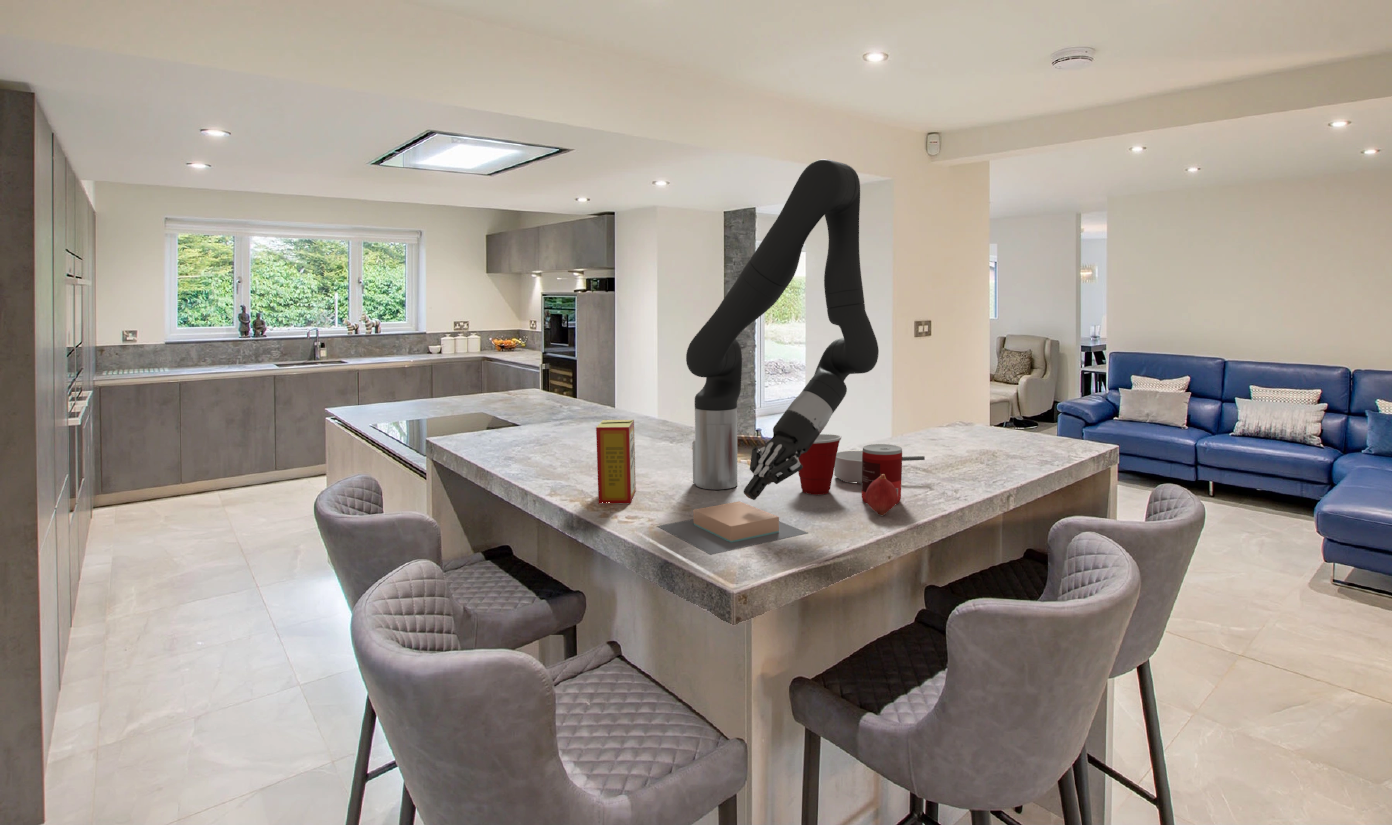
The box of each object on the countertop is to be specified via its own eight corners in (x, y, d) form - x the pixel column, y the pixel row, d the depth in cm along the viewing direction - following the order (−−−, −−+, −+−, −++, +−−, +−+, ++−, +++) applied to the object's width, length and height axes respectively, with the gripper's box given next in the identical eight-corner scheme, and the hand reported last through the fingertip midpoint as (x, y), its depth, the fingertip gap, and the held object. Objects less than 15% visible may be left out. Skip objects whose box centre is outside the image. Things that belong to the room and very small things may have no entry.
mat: (656, 528, 134) (656, 525, 134) (748, 511, 144) (748, 508, 144) (710, 557, 119) (710, 554, 119) (808, 535, 129) (808, 532, 129)
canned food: (903, 498, 152) (905, 445, 151) (896, 508, 145) (898, 452, 144) (866, 494, 156) (867, 442, 154) (857, 504, 148) (858, 449, 147)
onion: (858, 514, 141) (859, 473, 140) (877, 509, 145) (878, 468, 144) (884, 521, 137) (885, 478, 136) (903, 515, 140) (904, 473, 139)
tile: (739, 515, 140) (693, 524, 135) (739, 501, 139) (693, 509, 134) (778, 532, 130) (730, 542, 124) (778, 516, 129) (730, 526, 124)
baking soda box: (630, 503, 151) (628, 425, 149) (598, 503, 151) (596, 425, 149) (635, 491, 160) (633, 417, 158) (605, 491, 160) (603, 418, 158)
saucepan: (927, 487, 161) (928, 462, 160) (833, 485, 164) (833, 460, 163) (919, 475, 172) (920, 451, 172) (831, 473, 175) (832, 449, 175)
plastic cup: (811, 482, 166) (812, 429, 164) (851, 491, 158) (852, 435, 156) (778, 491, 159) (778, 435, 157) (818, 501, 151) (819, 442, 149)
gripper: (769, 404, 141) (715, 476, 137) (815, 413, 130) (758, 492, 125) (791, 429, 145) (739, 500, 140) (838, 440, 133) (783, 517, 129)
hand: (748, 496), depth 133 cm, fingers closed
